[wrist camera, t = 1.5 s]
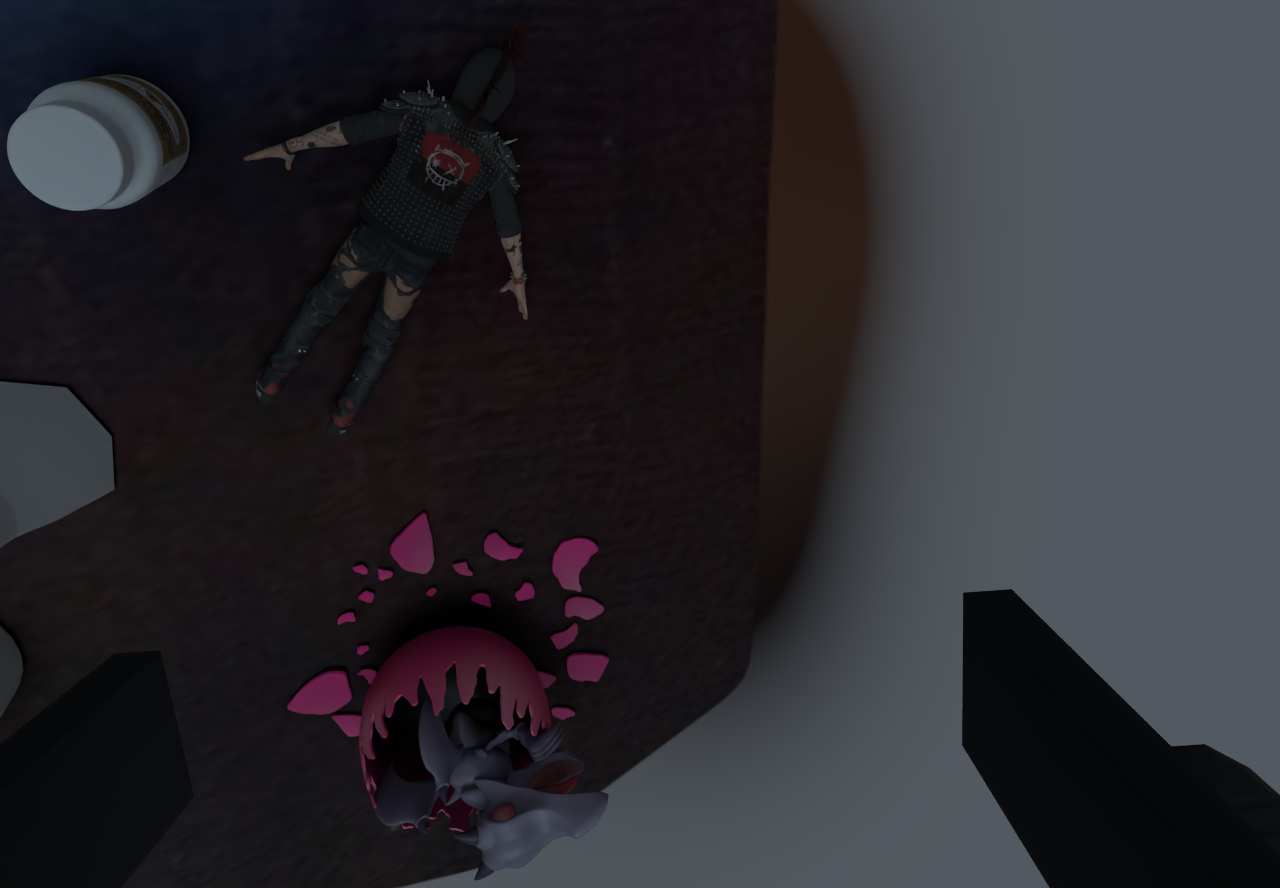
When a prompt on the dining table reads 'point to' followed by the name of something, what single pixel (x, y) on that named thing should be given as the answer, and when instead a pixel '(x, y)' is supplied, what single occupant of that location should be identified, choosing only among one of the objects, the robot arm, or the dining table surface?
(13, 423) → the flask
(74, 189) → the pill bottle
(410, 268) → the figurine
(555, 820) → the hatching egg
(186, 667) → the dining table surface
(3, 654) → the cup
